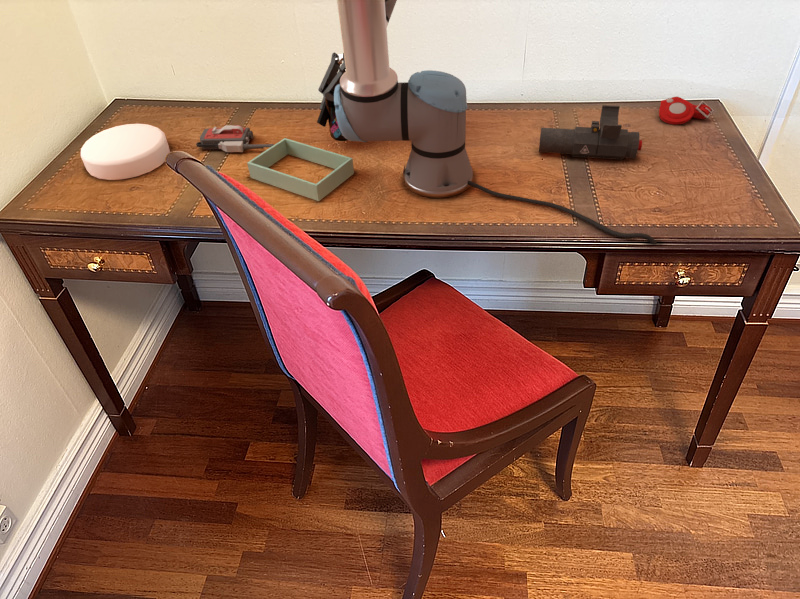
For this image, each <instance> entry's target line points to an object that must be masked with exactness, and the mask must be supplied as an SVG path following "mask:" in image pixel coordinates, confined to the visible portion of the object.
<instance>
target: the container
mask: <svg viewBox="0 0 800 599" xmlns="http://www.w3.org/2000/svg"><path fill="white" fill-rule="evenodd" d="M168 153H170V154H171V150H170V145H169V143H168V139H167V137H166V133H165V132H164V131H163V130H162V129H160V127H157V126H154V125H151V124H147V123H127V124H121V125H116V126H113V127H110V128H107V129H104V130H102V131H99V132H98V133H96V134H93V135H92V136H91V137H90V138H88V139H87V140H86V141H85V142H84V143H83V145H82V146H81V149H80V158H81V160H82V163H83V165H84V168H85V169H86V171H87V172H88V173H89V175H90V176H92V177H94V178H97V179H99V180H108V181H117V180H118V181H119V180H127V179H131V178H136V177H140V176H142V175H145V174H148V173H150V172H152V171H153V170H155V169H157V168H159V167H160V166H161V165H163V164H164V163H165V162H166V161H165V157H166V155H167V154H168Z"/></svg>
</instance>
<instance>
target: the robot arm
mask: <svg viewBox="0 0 800 599" xmlns="http://www.w3.org/2000/svg"><path fill="white" fill-rule="evenodd" d="M397 2H398V0H336V3H337V11H338V18H339V26H340V27H339V28H340V34H341V42H342V43H341V44H342V51H343V52H342V53H340V54H339V53H336V52H335V51H334V52H332V53H331V57H330V58H331V59H330V63H329V65H328V67H327V69H326V71H325V74H324V76H323V78H322V80H321V83H320V85H319V87H318V92H320V93H321V94H322V96H323V97H322V100H321V103H320V106H319V110H320V112H319V115H318V117H317V120H316V123H317V124H319V125H320V126H321V127H323V128H326V126H327V123H328V115H327V107H326V101H325V94H326V93H327V92H329V91H331V90H334V104H335V113H336V118H337V122H338V126H339V129H340V131H341V133H342V135H343V136H344V137H345V138H346V139H347V140H348V141H349V142H362V143H368V142H401V141H402V142H405V141H407V142H408V141H410V144H411V146H410V147H411V149H410V152H409V155H408V159H407V162H406V164H405V165H404V167H403V171H402V172H403V173H402V174H403V175H402V176H403V177H404V185H405V186H406V188H407V189H408V190H410V191H411V192H412V193H414V194H416V195H418V196H422V197H426V198H433V199H435V198H436V199H437V198H438V199H439V198H440V199H442V198H450V197H454V196H457V195H459V194H462V193H464V192H465V191H467V190H468V189H469V188H470V187H473V188H474V189H477V190H478V191H479V190H480V191H482V192H484V193H486V194H488V195H490V196H493V197H496V198H500V199H505V200H510V201H511V200H512V201H516V202H521V203H526V204H532V205H536V206H537V205H538V206H544V207H548V208H553V209H555V210H558V211H561V212H563V213H566V214H569V215H571V216H572V217H575V218H577V219H579V220H581V221H583V222H585V223H587V224H589V225H591V226H593V227H595V228H597V229H599V230H600V231H602V232H604V233H606V234H609V235H610V236H613V237H615V238H616V237H617V238H621V239H645V240H647V241H648V242H649V243H650V244H652V245H657V241H656V240H655V238H654V237H652V236H651V235H649V234H647V233H642V232H632V233H631V232H629V233H628V232H626V233H624V232H619V231H616V230H614V229H611V228H608V227H607V226H605V225H603V224H601V223H599V222H598V221H595V220H594V219H592V218H590V217H587V216H585V215H584V214H582V213H579V212H577V211H575V210H573V209H570V208H568V207H565V206H562V205H560V204H557V203H553V202H549V201H545V200H538V199H533V198H528V197H522V196H518V195H511V194H506V193H502V192H497V191H494V190H492V189H489V188H487V187H485V186H483V185H481V184H478V183H476V182H474V181H473V180H474V171H473V166H472V165H471V161H470V158H469V154H468V152H467V149H466V134H467V131H466V130H467V128H466V127H467V125H466V124H467V109H468V101H467V88H466V86H465V83H464V82H463V81H462V80H461V79H460V78H459V77H457V76H455V75H453V74H451V73H448V72H445V71H440V70H431V69H430V70H421V71H417V72H415V73H412V74H411V75H410V77H409V79H408V81H405V82H399V77H398V74H397V72H396V71H395V70H394V69H393V68H392V67H390V54H389V44H388V43H389V42H388V30H387V28H388V26H389V22H390V20H391V17H392V14H393V12H394V9H395V6H396V5H397V4H396V3H397Z"/></svg>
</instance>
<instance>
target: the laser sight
mask: <svg viewBox="0 0 800 599" xmlns="http://www.w3.org/2000/svg"><path fill="white" fill-rule="evenodd" d="M619 113H620V105H610V104H609V105H606V104H603V105H602V106H601V112H600V118H599V120H592V121H591V123H590V124H591V125H590V127H589V126H575V127H574V128H558V127H557V128H556V127H541V128H540V135H539V142H538V143H539V144H538V153H549V154H561V155H563V154H564V155H571V157H573V158H588V159H589V158H590V159H592V158H593V159H606V160H622V161H623V160H624V159H625V158H627V159H636V158H637V156H638V152H641V151H642V148H643V140H642V139H641V140H640V136H641V135H640V132H639V131H629V129H628V128H627V129H625V128H622V127H623V125H622V124H619V115H620V114H619Z"/></svg>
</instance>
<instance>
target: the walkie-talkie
mask: <svg viewBox="0 0 800 599" xmlns="http://www.w3.org/2000/svg"><path fill="white" fill-rule="evenodd" d="M253 139H254V132H253V131H252V130H251V128H250V127H248V126H247V127H243V126H242V125H240V124H235V125H233V124H231V125H230V124H229V125H228V124H227V125H224V126H223V127H217V126H213V127H210V128H204V129H203V130H202V133H200V136H199V141H198V142H196V143H195V145H196V147H197V148H202V149H203V150H204V151H206V150H208V151H209V150H220V151H223V152H225V153H243V152H244V151H245V150H259V149H260V150H261V149H264V148H270V147H272V146H273V145H275V144H274V143H260V144H259V143H257V144H251V143H250V141H251V140H253Z"/></svg>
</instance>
